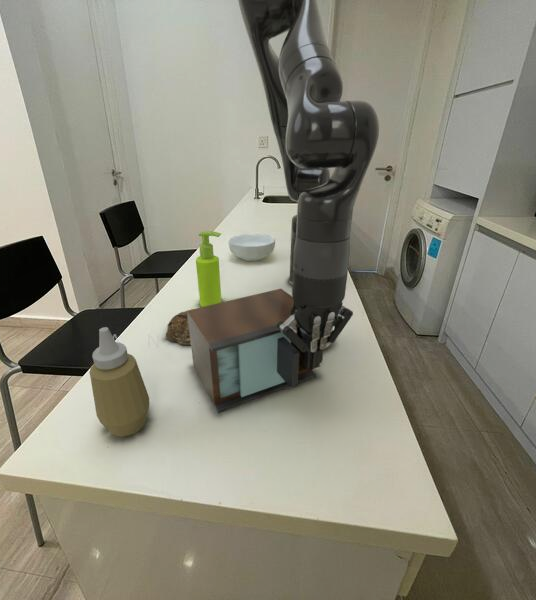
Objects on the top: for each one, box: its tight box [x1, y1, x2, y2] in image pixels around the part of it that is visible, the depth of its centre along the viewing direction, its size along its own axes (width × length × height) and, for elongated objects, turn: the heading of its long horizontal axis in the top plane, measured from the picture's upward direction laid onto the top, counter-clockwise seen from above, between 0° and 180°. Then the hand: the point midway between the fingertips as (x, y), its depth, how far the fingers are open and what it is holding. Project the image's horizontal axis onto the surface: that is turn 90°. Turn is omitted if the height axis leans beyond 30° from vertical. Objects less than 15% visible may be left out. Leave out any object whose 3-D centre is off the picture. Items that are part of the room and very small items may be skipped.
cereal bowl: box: [228, 233, 276, 262], centre depth 121 cm, size 17×17×7 cm
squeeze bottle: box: [89, 326, 151, 438], centre depth 50 cm, size 8×8×18 cm
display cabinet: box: [186, 288, 317, 413], centre depth 61 cm, size 20×14×13 cm
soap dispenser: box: [195, 230, 223, 307], centre depth 86 cm, size 6×7×20 cm
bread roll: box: [165, 308, 193, 346], centre depth 77 cm, size 13×12×5 cm
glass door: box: [238, 332, 300, 397], centre depth 54 cm, size 10×5×11 cm, turn 114°
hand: (312, 365), depth 54 cm, fingers closed
